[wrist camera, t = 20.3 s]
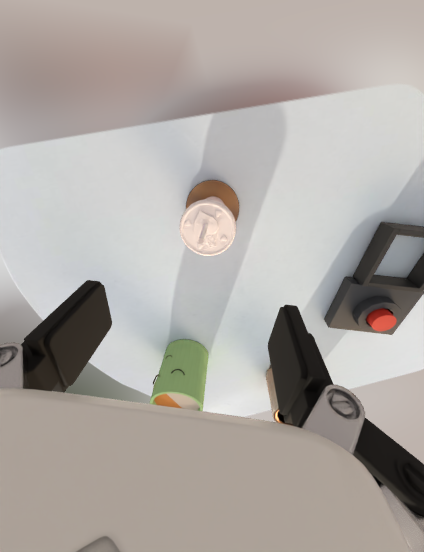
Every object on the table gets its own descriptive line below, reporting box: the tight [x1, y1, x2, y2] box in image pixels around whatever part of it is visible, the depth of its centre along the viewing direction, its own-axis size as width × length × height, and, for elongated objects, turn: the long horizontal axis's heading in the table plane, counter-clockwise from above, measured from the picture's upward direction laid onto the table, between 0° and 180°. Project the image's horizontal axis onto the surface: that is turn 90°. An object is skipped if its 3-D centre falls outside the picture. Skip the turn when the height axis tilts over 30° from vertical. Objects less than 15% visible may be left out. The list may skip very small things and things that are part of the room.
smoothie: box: [180, 196, 236, 256], centre depth 26 cm, size 6×6×14 cm
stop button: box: [366, 308, 397, 331], centre depth 35 cm, size 4×4×2 cm
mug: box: [150, 339, 208, 411], centre depth 45 cm, size 13×10×12 cm
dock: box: [353, 222, 424, 293], centre depth 33 cm, size 10×10×3 cm
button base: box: [324, 277, 424, 335], centre depth 38 cm, size 10×12×4 cm
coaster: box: [186, 180, 239, 221], centre depth 32 cm, size 8×8×1 cm
